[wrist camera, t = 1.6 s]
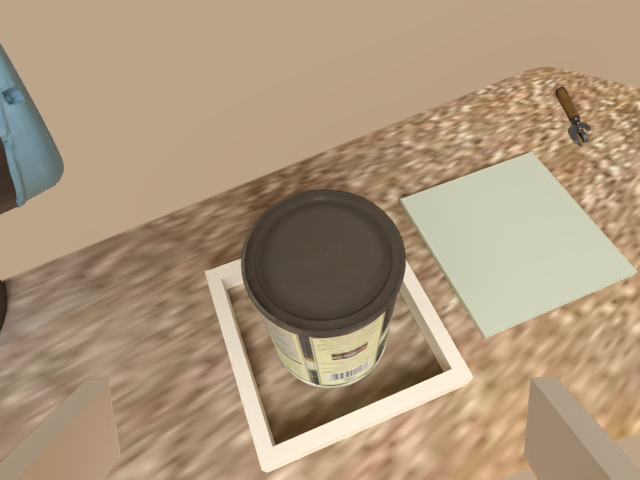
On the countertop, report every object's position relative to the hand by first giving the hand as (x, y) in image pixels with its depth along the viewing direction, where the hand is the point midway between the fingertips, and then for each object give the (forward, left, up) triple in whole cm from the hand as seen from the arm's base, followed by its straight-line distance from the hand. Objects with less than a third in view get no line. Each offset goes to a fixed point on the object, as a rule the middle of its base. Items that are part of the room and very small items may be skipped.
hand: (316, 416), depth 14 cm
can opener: (+25, +39, -24) cm, 52 cm away
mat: (+16, +22, -23) cm, 36 cm away
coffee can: (-1, +11, -24) cm, 26 cm away
